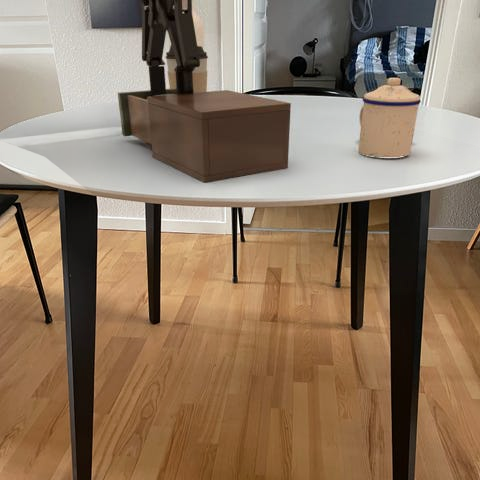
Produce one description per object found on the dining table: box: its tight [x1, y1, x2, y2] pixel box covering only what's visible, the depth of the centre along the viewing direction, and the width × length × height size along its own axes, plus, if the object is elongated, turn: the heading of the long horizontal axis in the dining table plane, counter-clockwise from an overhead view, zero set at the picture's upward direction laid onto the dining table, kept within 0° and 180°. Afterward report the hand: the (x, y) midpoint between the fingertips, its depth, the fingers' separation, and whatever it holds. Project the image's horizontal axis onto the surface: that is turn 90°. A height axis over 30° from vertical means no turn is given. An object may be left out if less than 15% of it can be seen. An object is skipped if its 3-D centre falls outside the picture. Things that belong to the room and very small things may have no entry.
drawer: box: [117, 88, 195, 145], centre depth 89 cm, size 18×14×7 cm
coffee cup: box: [165, 45, 209, 93], centre depth 108 cm, size 9×9×15 cm
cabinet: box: [147, 89, 292, 183], centre depth 78 cm, size 18×15×9 cm
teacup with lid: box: [357, 77, 422, 157], centre depth 83 cm, size 12×9×12 cm
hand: (172, 109), depth 88 cm, fingers closed on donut, 10 cm apart
